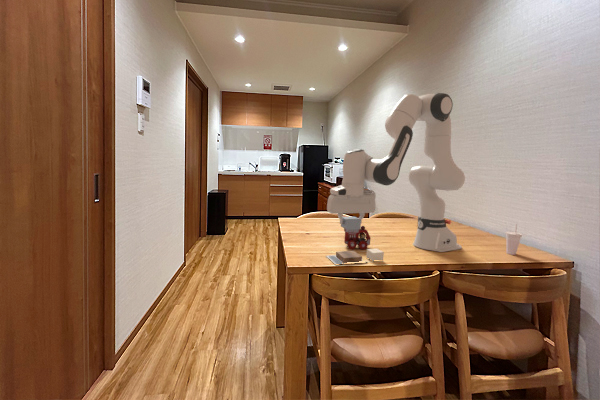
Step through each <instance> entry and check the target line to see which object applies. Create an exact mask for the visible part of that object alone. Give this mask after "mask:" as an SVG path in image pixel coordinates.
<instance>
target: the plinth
mask: <svg viewBox="0 0 600 400" xmlns="http://www.w3.org/2000/svg"><path fill="white" fill-rule="evenodd" d="M335 255H336V257H337V258H339V259H340V260H341V261H342V262H343V263H347V262H359V261H362V259H363V257H362V256H361V255H360V254H359V253H358V252H356V251H355V250H346V251H345V250H342V251H341V250H340V251H336V252H335Z"/></svg>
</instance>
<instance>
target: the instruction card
mask: <svg viewBox="0 0 600 400" xmlns="http://www.w3.org/2000/svg"><path fill="white" fill-rule="evenodd" d="M325 258H326V259H328V260H329V259H330V260H331V261H332V262H333V263H334V265H335V264H342V263H343V262H342V261H341V260H340V259H339V258H337V257H336V254H332V255H325ZM330 260H329V261H330ZM331 261H330V262H331ZM332 262H331V263H332ZM333 263H332V264H333ZM343 264H344V263H343Z"/></svg>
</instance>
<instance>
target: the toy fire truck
mask: <svg viewBox="0 0 600 400" xmlns="http://www.w3.org/2000/svg"><path fill="white" fill-rule="evenodd" d="M343 231H344V241H343V242H344V244H345V245H347V247H348V249H350V250H354V249H356V248H357V246H358V248H359V249H360V250H363V251H364V250H365V251H366V250H367V249H368V246H370V245H371V236H370V234H369V232H368V230H367V229H366V227H365V225H361V227H360V229H356V230H346V229H344V228H343Z"/></svg>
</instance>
